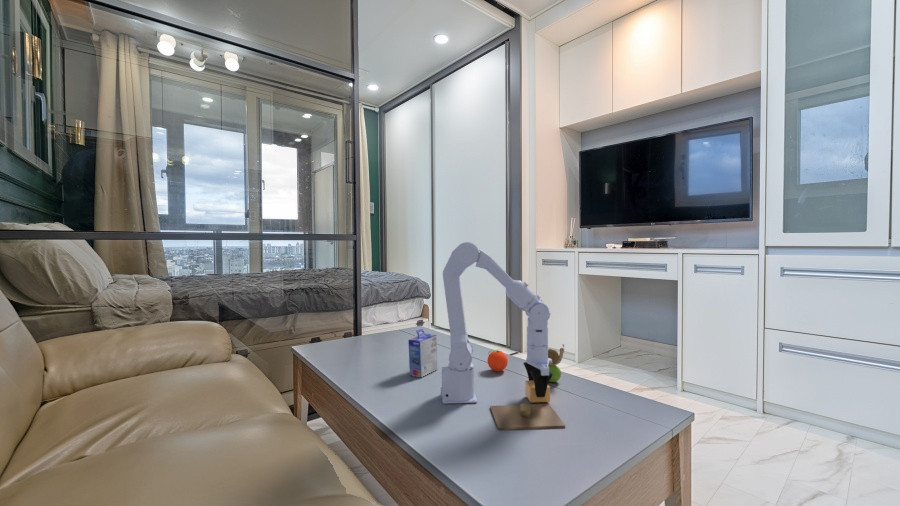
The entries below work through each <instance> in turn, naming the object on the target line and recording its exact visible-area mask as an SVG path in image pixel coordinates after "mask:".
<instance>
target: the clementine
mask: <svg viewBox="0 0 900 506" xmlns="http://www.w3.org/2000/svg"><path fill="white" fill-rule="evenodd" d="M487 355H488V357H487V365H488V368H490V369H491V370H492V371H495V372H502V371H504V370H505V369H506V368H507V367H508V366H507V365H508V362H509V361H508V357H507V355H506V353H504V351H502V350H498V349H493V350H491V351H490V352H488V353H487Z"/></svg>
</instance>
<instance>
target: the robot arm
mask: <svg viewBox="0 0 900 506" xmlns="http://www.w3.org/2000/svg"><path fill="white" fill-rule="evenodd" d="M475 263H476V264H475ZM473 264H475V268H480V269H484V270H486V271H487V272H488V273H489V274H490V275H491V276H492V277H493V278H494V279H496V281H497V282H499V283H500V284H501V286H503V287H504V288H505V295H506V297H508V299H509V300H511V302H513V303H514V304H515V305H516V306H517V307H518V308H519V310H520V311H522V312H525V315H526V316H527V327H526V359H525V361H524V362H523V363H522V364H523V366H524V368H525V370H526V373H527V378H528V381H530V380H534V384H535V392H536V396H537V397H545V394H546V390H547V386H548V385H549V383H550V382H549V381H550V379H551V377H552V375H553V373H552V372H551V371H550V372H549V367H548V365H549V363H552V359H550V358H548V349H549V327H548V324H549V322H548V321H549V319H550V317H551V312H550V309H549V307H548V306H547V304H545V302H544V301H543V300H541V296H539V295H538V294H535V293H534V292H533V291H532V290H531V289H530V288H529V287H528V286H529V284H528V283H527V282H525V281H522V280H520V279H519V280H518V279H517V280H515V279H513V278H512V277H511V276H510V275H508V274H509V273H507V272H506V270H504V269H503V268H502V267H501V266H500V265H499V264H498V263H497V262H496V260H495V259H493V258H492V256H490V255H489V254H488V253H487V252H485V251H484V250H482V249H481V248H478V247H477V245H475V243H472V242H470V241H469V242H467V241H465V242H461V243H460V244H459V245H457V246H456V248H454V249H453V251H452V252H451V254H450V255H449V258H448V260H447V262H446V264H445V266H444V268H443V270H442V279H443V287H444V294H445V295H444V296H445V303H446V310H447V319H448V326H449V327H448V328H449V334H450V352H449V355H448V365H447V366H442V367H441V387H440V395H441V398H442V401H441V402H442V404H443V405H444V404H470V403H472V404H473V403H474V404H475V403H478V399H477V396H476V392H475V364H474V362H472V361H473V356H472V355H473V352H474V349H473V346H472V345H473V344H471V342H470V340H469V336H468V331H467V325H466V316H465V310H464V309H465V308H464V303H463V302H464V301H463V294H462V284H461V278H460V277H461V275H462V274H463V273H464V272H465V270H467V268H469V267H470V266H473Z"/></svg>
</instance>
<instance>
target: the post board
mask: <svg viewBox="0 0 900 506" xmlns="http://www.w3.org/2000/svg"><path fill="white" fill-rule="evenodd" d="M489 407H490V408H489V409H490V410H491V414H492V416H493V420H494V422H495V424H496V427H497V430H498V431H509V430H533V429H534V430H536V429H562V428H566V423H564V422H563V421H562V419H561V418H560V417H559V415H558V414H557V412H556V411H555V410H554V408H553V407H552V406H551V404H550V403H538V404H529V403H528V402H527V403H526V402H525V403H524V402H523V403H520V404H512V405H511V404H510V405H509V404H507V405H506V404H505V405H502V404H501V405H490V406H489Z"/></svg>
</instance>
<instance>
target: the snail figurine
mask: <svg viewBox="0 0 900 506" xmlns="http://www.w3.org/2000/svg"><path fill="white" fill-rule="evenodd" d="M564 347H565V344H564V343H562V347H561V348H559V353H558V351H557V350H556V349H553V348H548V358H550V359H552V363H549V365H548V367H549V372H550V371H551V372H552V373H553V375H552V377H551V379H550V381H549V383H556V382H558V381H559V380H560V379H561V377H562V372H561V369H560V367H559V366H557V365H559V364H561V362H562V360H563V356H564V353H565V348H564Z"/></svg>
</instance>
